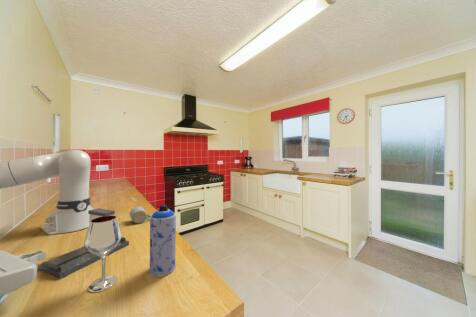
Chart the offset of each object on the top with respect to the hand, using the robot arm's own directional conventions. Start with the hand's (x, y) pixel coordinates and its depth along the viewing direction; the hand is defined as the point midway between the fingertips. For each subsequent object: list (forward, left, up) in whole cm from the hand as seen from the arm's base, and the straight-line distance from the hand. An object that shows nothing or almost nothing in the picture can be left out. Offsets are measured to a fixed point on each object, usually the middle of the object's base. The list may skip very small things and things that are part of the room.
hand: (43, 253), depth 50 cm
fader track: (0, +12, -7) cm, 13 cm away
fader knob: (0, +16, -5) cm, 16 cm away
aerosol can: (+30, +15, -7) cm, 34 cm away
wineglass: (+19, +4, -7) cm, 21 cm away
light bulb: (-13, +44, -7) cm, 46 cm away
